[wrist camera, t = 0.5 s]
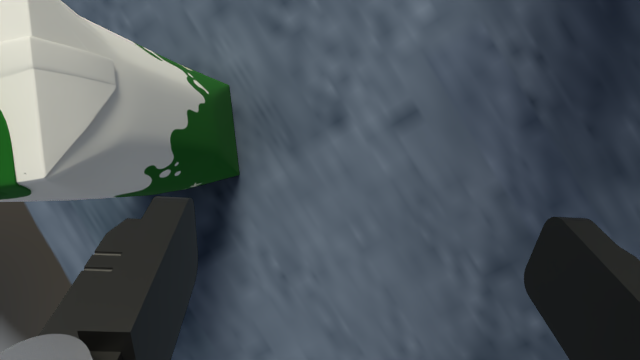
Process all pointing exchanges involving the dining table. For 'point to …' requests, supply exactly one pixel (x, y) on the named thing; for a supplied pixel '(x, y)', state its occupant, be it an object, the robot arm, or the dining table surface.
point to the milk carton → (102, 112)
